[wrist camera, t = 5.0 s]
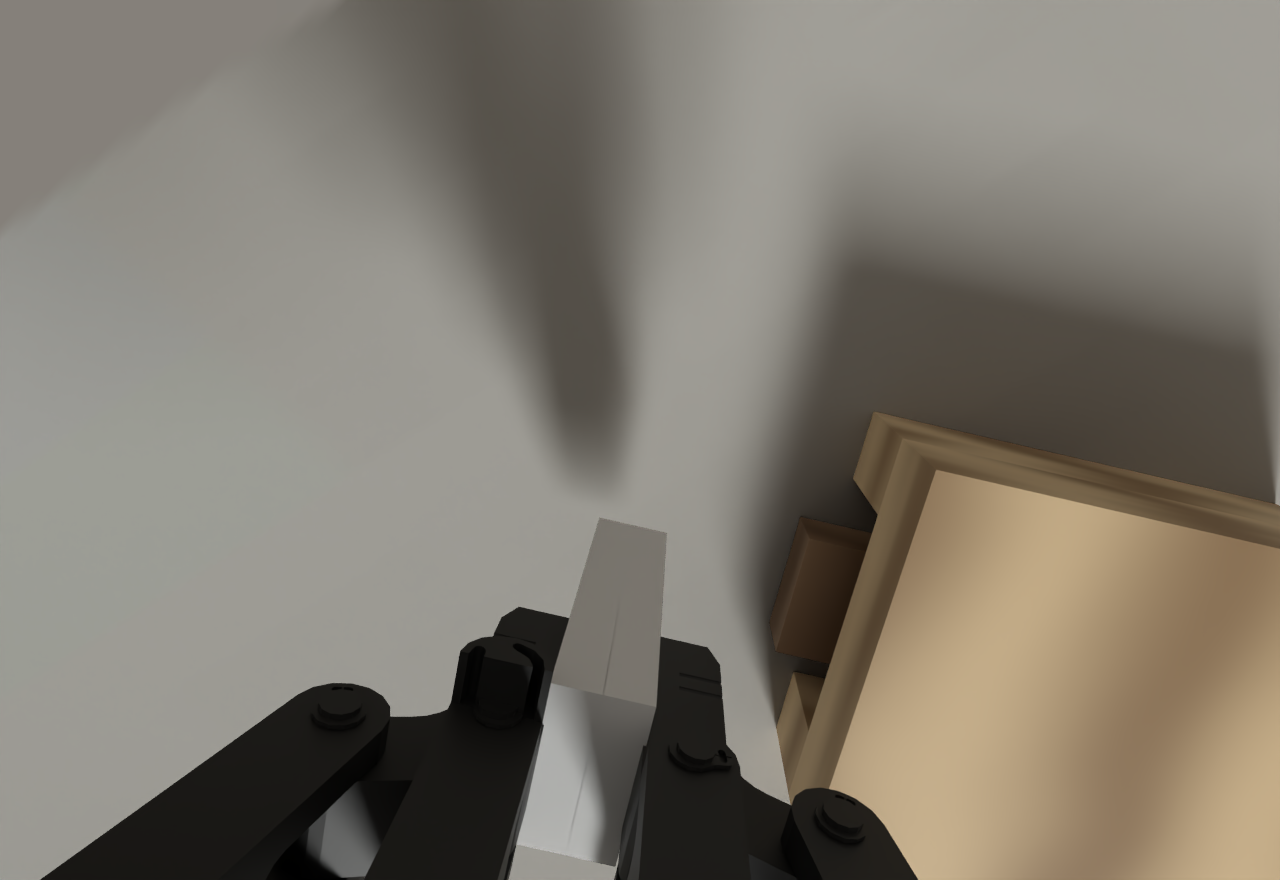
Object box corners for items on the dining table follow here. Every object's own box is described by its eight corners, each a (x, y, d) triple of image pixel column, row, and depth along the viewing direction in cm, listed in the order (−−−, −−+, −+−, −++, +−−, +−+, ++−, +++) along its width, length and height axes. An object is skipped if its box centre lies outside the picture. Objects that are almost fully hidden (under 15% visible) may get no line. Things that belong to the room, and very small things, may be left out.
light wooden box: (775, 725, 22) (802, 867, 17) (873, 410, 19) (936, 469, 14) (1133, 807, 22) (1262, 972, 17) (1272, 502, 19) (1468, 592, 15)
